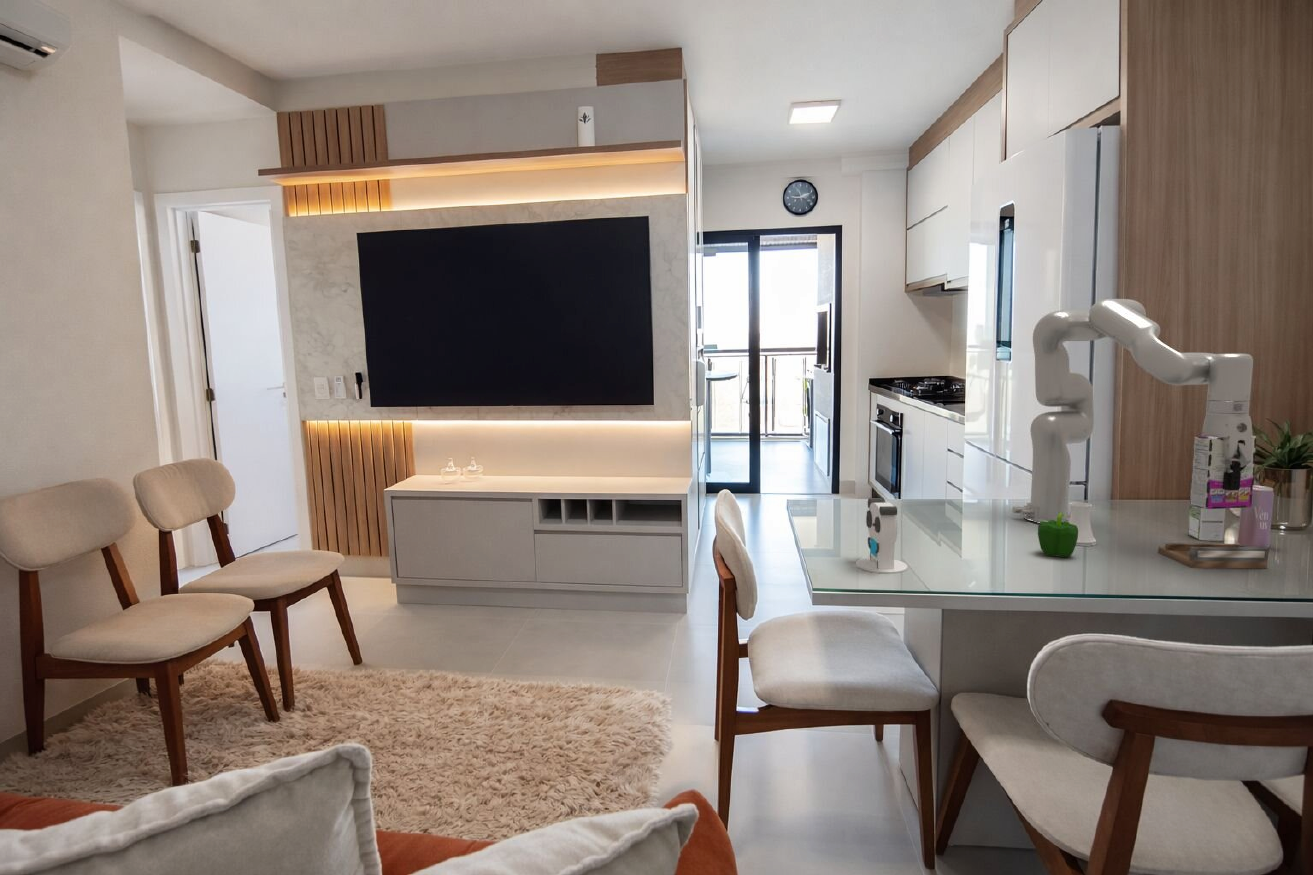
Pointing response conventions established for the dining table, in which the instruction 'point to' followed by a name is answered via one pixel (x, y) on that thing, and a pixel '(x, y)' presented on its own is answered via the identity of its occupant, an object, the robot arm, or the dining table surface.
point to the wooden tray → (1216, 555)
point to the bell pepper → (1057, 537)
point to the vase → (1082, 522)
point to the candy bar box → (1218, 476)
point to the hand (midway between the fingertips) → (1221, 486)
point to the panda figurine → (881, 538)
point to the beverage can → (1256, 519)
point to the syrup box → (1206, 523)
